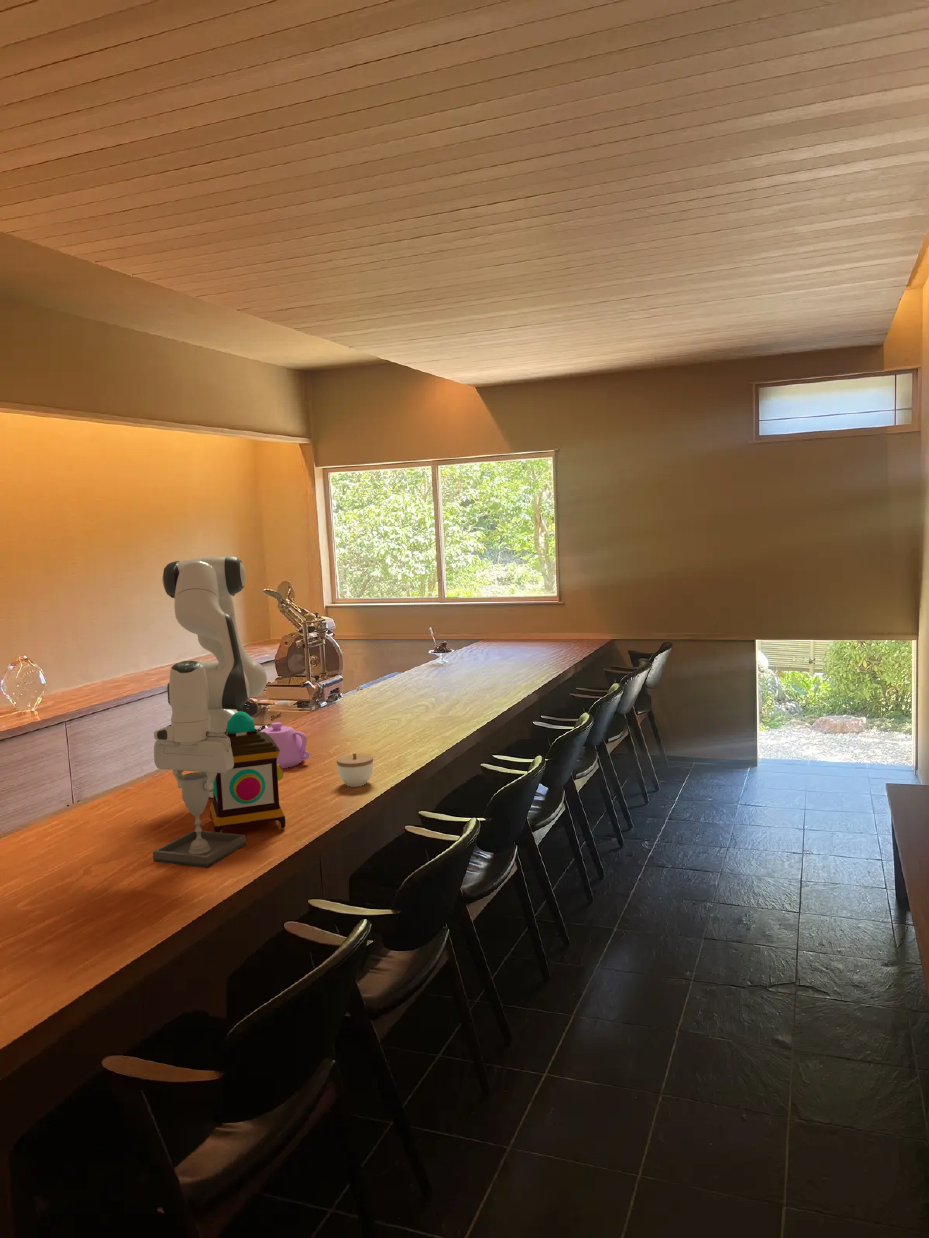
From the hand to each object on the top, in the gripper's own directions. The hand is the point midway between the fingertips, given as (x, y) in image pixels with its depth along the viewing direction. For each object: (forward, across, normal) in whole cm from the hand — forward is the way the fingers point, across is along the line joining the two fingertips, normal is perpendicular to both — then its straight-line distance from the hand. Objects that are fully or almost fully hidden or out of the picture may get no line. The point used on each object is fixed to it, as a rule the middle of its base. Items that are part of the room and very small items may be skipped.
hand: (195, 788), depth 203 cm
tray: (+16, 0, 0) cm, 16 cm away
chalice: (+15, 0, 0) cm, 15 cm away
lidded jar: (+16, -10, -61) cm, 63 cm away
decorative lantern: (+16, +1, -21) cm, 26 cm away
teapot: (+16, +28, -77) cm, 83 cm away
